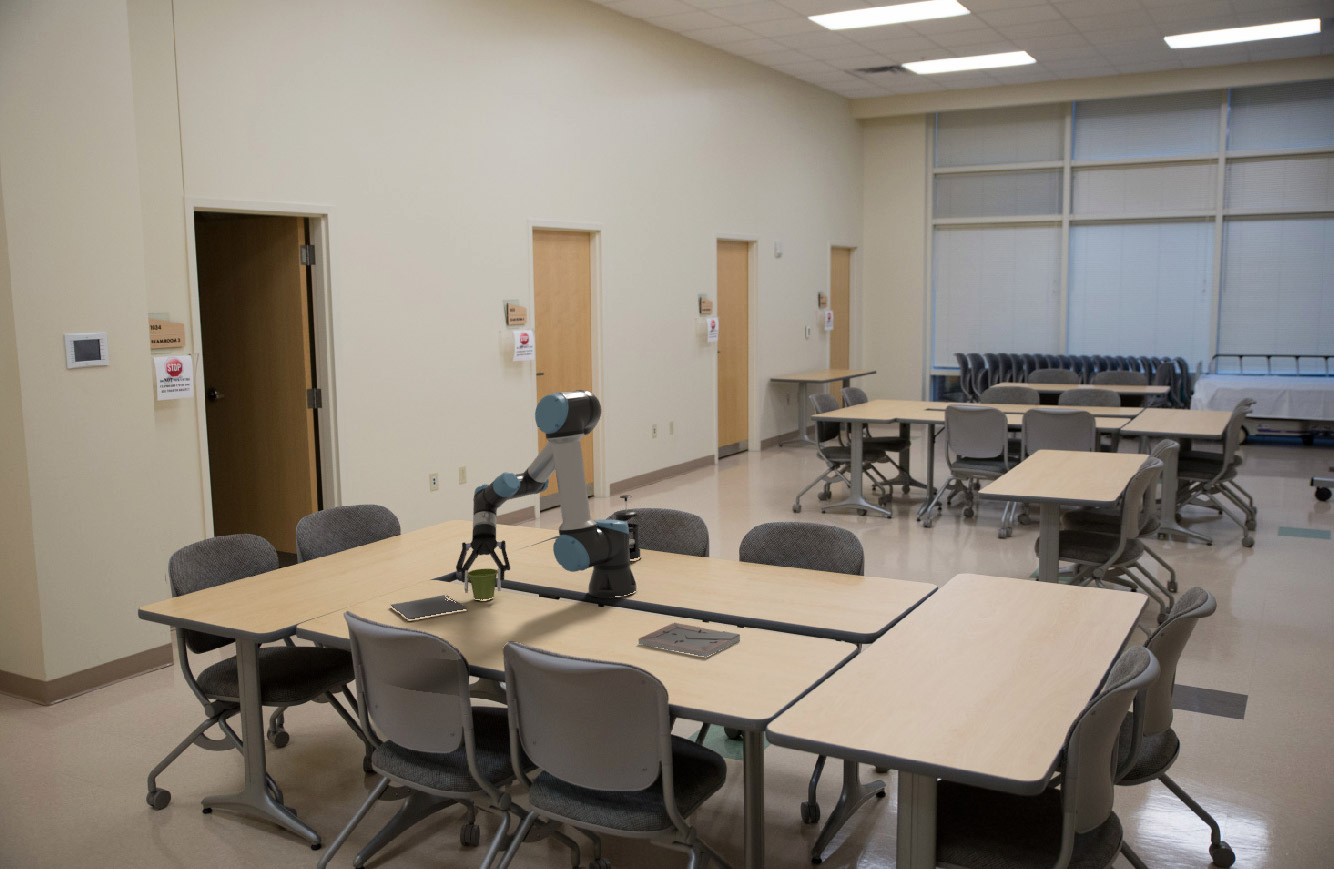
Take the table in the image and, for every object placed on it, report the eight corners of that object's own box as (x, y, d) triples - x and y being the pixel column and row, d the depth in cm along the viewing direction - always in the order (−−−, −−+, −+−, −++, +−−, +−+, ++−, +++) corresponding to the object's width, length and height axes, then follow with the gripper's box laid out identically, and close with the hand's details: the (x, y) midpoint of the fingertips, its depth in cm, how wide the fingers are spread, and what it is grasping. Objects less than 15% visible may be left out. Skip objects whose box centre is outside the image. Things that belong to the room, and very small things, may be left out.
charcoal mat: (467, 611, 315) (467, 607, 315) (408, 622, 306) (408, 618, 306) (446, 597, 331) (446, 594, 330) (390, 607, 321) (390, 604, 321)
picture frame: (740, 643, 280) (674, 630, 293) (739, 634, 280) (674, 621, 293) (705, 660, 267) (638, 646, 280) (705, 651, 267) (638, 637, 279)
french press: (648, 558, 374) (645, 494, 371) (630, 563, 366) (628, 499, 363) (623, 554, 381) (620, 492, 378) (605, 559, 374) (603, 496, 371)
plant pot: (502, 601, 325) (500, 573, 324) (472, 605, 322) (470, 577, 321) (495, 593, 334) (494, 567, 333) (466, 597, 330) (464, 570, 329)
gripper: (448, 524, 334) (444, 585, 320) (518, 520, 336) (517, 581, 322) (451, 536, 340) (448, 597, 326) (519, 533, 342) (519, 594, 328)
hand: (482, 589), depth 324 cm, fingers closed on plant pot, 9 cm apart
